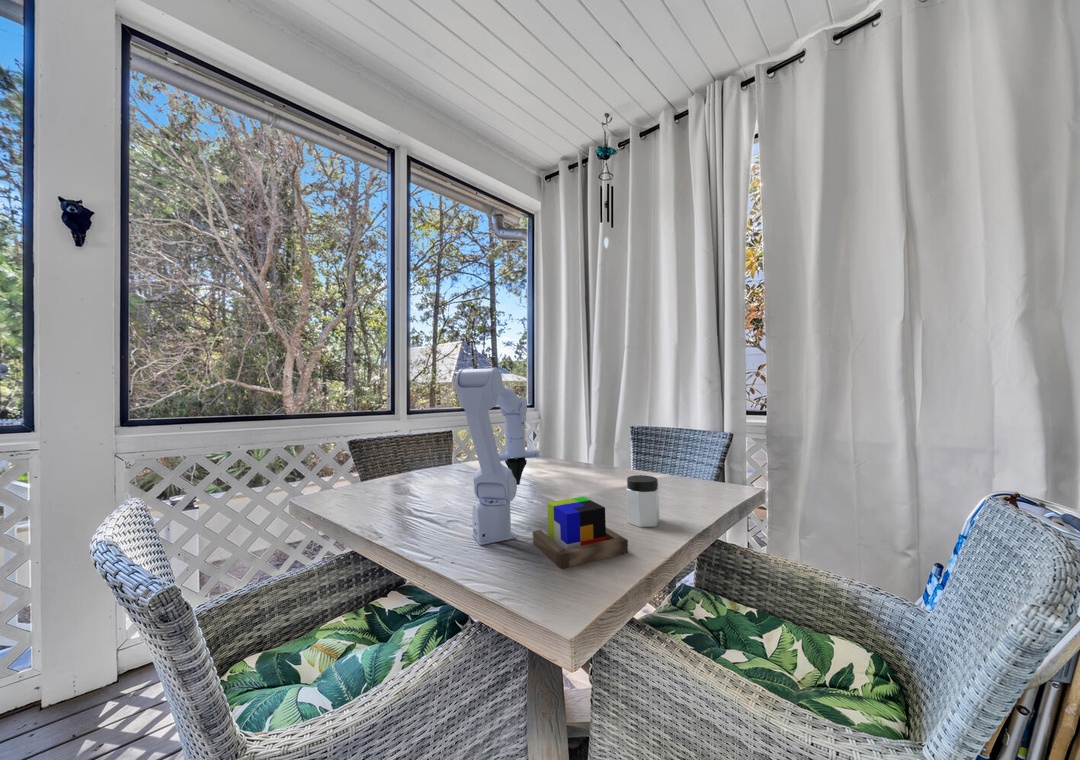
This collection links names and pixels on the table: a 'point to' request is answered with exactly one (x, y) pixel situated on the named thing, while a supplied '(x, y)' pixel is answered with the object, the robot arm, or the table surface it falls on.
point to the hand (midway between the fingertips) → (516, 484)
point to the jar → (642, 501)
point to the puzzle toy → (576, 522)
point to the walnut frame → (580, 549)
